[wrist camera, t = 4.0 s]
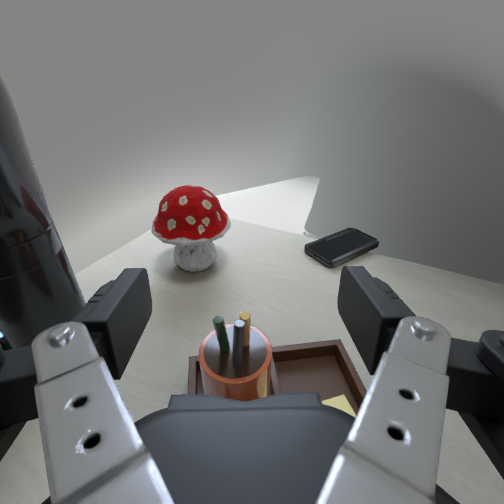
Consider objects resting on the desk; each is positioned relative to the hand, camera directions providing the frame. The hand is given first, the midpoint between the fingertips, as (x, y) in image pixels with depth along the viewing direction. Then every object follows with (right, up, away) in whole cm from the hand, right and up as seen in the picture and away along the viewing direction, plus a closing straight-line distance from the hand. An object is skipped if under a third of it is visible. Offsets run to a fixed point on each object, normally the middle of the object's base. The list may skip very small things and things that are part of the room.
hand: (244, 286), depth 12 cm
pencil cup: (-1, -17, +18) cm, 25 cm away
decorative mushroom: (-10, -1, +44) cm, 45 cm away
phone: (+19, +2, +49) cm, 52 cm away
